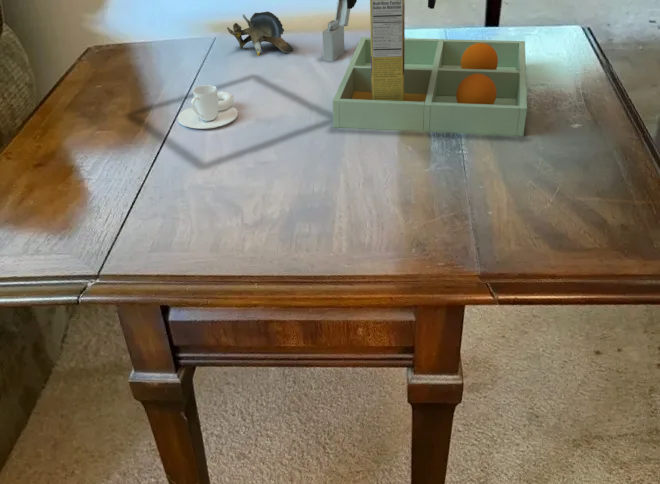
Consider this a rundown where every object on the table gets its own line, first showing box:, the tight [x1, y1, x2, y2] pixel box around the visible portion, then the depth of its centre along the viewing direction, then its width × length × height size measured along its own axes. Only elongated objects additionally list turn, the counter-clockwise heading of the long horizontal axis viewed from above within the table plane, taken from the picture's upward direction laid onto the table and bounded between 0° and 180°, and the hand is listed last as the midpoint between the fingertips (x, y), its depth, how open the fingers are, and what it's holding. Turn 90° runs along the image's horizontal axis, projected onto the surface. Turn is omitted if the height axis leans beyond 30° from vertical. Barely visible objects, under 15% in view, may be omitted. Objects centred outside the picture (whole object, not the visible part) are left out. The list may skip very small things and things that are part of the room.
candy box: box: [369, 0, 406, 101], centre depth 95 cm, size 9×4×15 cm, turn 174°
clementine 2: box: [456, 74, 497, 105], centre depth 97 cm, size 5×5×5 cm
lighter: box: [322, 0, 351, 62], centre depth 116 cm, size 7×2×8 cm, turn 153°
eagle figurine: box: [226, 10, 295, 57], centre depth 119 cm, size 8×7×9 cm
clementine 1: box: [461, 43, 498, 70], centre depth 105 cm, size 5×5×5 cm
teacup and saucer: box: [177, 84, 239, 130], centre depth 101 cm, size 9×8×4 cm
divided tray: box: [332, 36, 528, 137], centre depth 103 cm, size 23×23×4 cm
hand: (391, 5), depth 92 cm, fingers open, 9 cm apart
